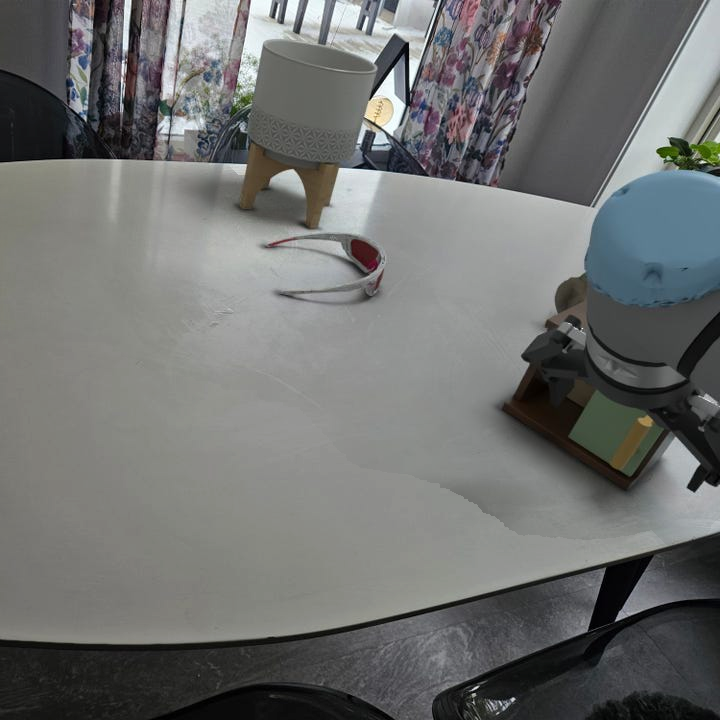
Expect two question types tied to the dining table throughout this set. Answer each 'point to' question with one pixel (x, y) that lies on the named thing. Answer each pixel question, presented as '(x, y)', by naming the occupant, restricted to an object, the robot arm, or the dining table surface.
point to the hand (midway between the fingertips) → (627, 434)
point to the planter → (305, 117)
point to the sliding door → (615, 433)
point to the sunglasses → (360, 253)
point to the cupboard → (572, 413)
